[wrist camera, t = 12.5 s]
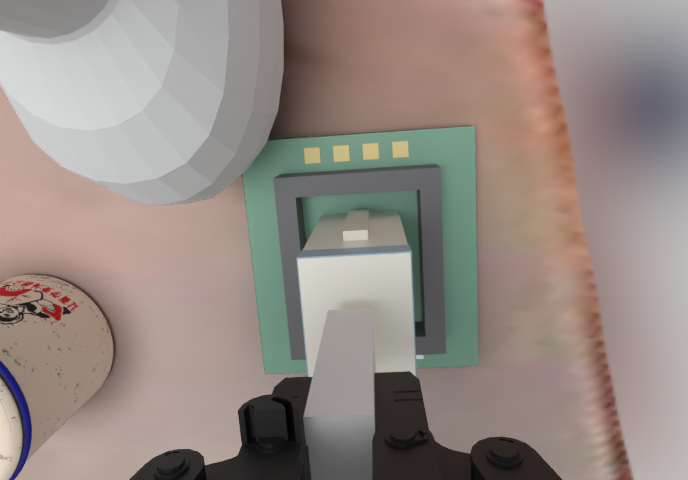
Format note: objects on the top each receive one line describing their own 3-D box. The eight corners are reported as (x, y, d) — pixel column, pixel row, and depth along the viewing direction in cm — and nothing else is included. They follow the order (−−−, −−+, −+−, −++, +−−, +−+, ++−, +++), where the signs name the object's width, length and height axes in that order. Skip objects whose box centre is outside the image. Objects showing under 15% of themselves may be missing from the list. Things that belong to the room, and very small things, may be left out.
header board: (473, 353, 30) (486, 383, 27) (270, 362, 31) (257, 392, 28) (469, 125, 27) (483, 126, 24) (245, 141, 28) (228, 144, 25)
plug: (403, 301, 28) (417, 383, 19) (328, 305, 28) (308, 388, 20) (398, 202, 27) (411, 242, 18) (320, 207, 27) (295, 248, 18)
